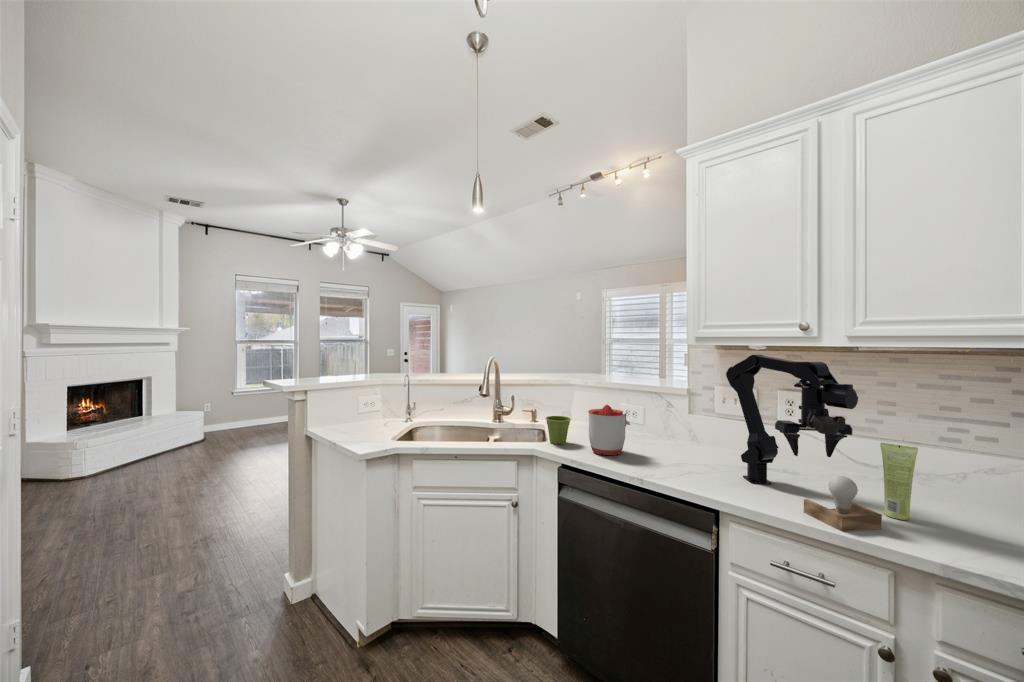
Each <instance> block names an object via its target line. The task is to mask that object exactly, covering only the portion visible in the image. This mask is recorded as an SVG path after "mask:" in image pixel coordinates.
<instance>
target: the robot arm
mask: <svg viewBox="0 0 1024 682" xmlns="http://www.w3.org/2000/svg"><path fill="white" fill-rule="evenodd" d="M762 368H763V369H768V370H771V371H776V372H777V371H778V372H782V373H786V374H790V375H791V376H793V377H794V378H797V379H799V381H798V382H797V383H794V384H793V386H794V387H795V388H800V389H801V399H800V400H801V401H800V402H801V404H800V405H798V410H800V411H801V412H800V418H798V423H797V422H794V421H791V420H785V419H784V420H782V419H781V420H780V419H778V420H777V421H776V422H775V424H774V429H775V430H776V431H778V432H779V433H781V434H783V436H784V437H785V439H786V440H787V443H788V445H789V447H790V449H791V451H792V453H793V455H794V456H795V457H798V455H799V438H800V436H801V434H799V432H800V431H817V432H818V433H819V434H821V435H824V441H825V443H824V444H825V452H826V453H825V454H826V457H828V458H831V457H832V456H833V453H834V451H835V450H836V447H837V445H838V443H839V442H840V441H842V440H843V439H844V438H848V436H852V435H853V427H852V425H851V424H847V423H846V417H844V416H842V415H836V416H830V414H829V413H830V412H829V409H828V408H826V406H828V407H832V408H834V407H835V408H840V409H846V410H853V409H855V408H856V406H857V405H858V401H859V396H858V395H857V391H856V390H855V389H854V385H853V384H851V383H844V384H843V383H839V382H838V380H837V379H836V378H835V376H834V375H833V374H832V372H831V371H830V368H829V366H828V365H827V363H825V362H823V361H796V360H795V361H794V360H791V359H785V358H778V357H772V356H767V355H764V354H751V355H748V357H746V358H745V359H744V360H741V361H740V362H737V363H735V364H734V365H732V366H730V367H729V368H727V370H726V372H725V376H726V379H727V381H728V383H729V386H730V387H731V388H732V389H733V390H734V391H735V392H736V394H737V398H738V400H739V403H740V408H741V410H742V414H743V418H744V421H745V425H746V427H747V428H746V429H747V431H748V437H747V441H746V446H747V450H745V451H744V452H743V453H742V454H741V455H740V459H741V461H742V463H746V464H747V468H746V469H747V473H746V474H747V475H743V476H742V478H744V479H745V480H747V481H748V482H750V484H763V485H765V484H766V485H767V484H768V485H771V484H772V481H770V480H769V479H768V464H772V463H773V462H774V460H775V458H776V457H777V456H778V454H779V451H778V450H779V448H780V447H779V446H778V445H777V441H776V440H777V439H776V437H775V436H774V435H769V434H768V433H767V431H766V429H765V425H764V423H763V419H762V416H761V412H760V409H759V406H758V403H757V399H756V396H755V393H754V385H755V381H756V379H755V376H756V375H758V373H760V370H762Z"/></svg>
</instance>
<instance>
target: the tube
mask: <svg viewBox="0 0 1024 682" xmlns="http://www.w3.org/2000/svg"><path fill="white" fill-rule="evenodd" d="M880 451H881V457H882V467H883V468H882V469H883V472H882V473H883V490H884V492H883V493H884V503H883V504H884V515H886V516H888V517H890V518H893V519H897V520H900V521H901V520H902V521H907V520H910V513H911V512H910V510H911V498H912V488H913V482H914V481H913V479H914V474H915V473H914V472H915V466H916V460H917V455H918V452H919V447H917V446H909V445H902V444H894V443H888V442H880Z"/></svg>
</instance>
